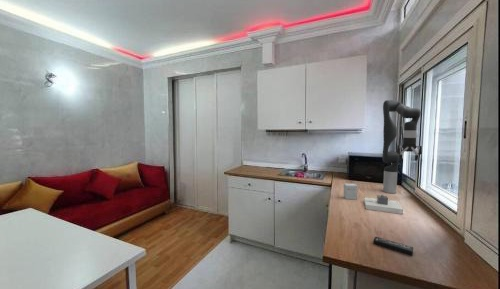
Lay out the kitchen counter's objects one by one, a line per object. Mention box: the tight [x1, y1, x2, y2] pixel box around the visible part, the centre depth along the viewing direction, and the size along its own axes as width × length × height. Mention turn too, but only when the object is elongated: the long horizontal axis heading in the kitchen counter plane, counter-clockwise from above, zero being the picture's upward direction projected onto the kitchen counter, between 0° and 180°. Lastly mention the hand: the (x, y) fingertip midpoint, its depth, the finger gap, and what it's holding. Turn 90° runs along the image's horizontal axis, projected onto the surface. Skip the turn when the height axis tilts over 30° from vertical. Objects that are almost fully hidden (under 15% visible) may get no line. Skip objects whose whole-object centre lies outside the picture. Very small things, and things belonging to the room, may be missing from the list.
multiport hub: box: [372, 236, 414, 257], centre depth 96 cm, size 4×14×2 cm, turn 50°
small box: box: [343, 183, 358, 200], centre depth 163 cm, size 8×6×10 cm
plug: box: [376, 194, 389, 205], centre depth 144 cm, size 5×5×8 cm
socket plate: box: [363, 197, 404, 215], centre depth 144 cm, size 16×20×4 cm
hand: (408, 160), depth 152 cm, fingers open, 8 cm apart
